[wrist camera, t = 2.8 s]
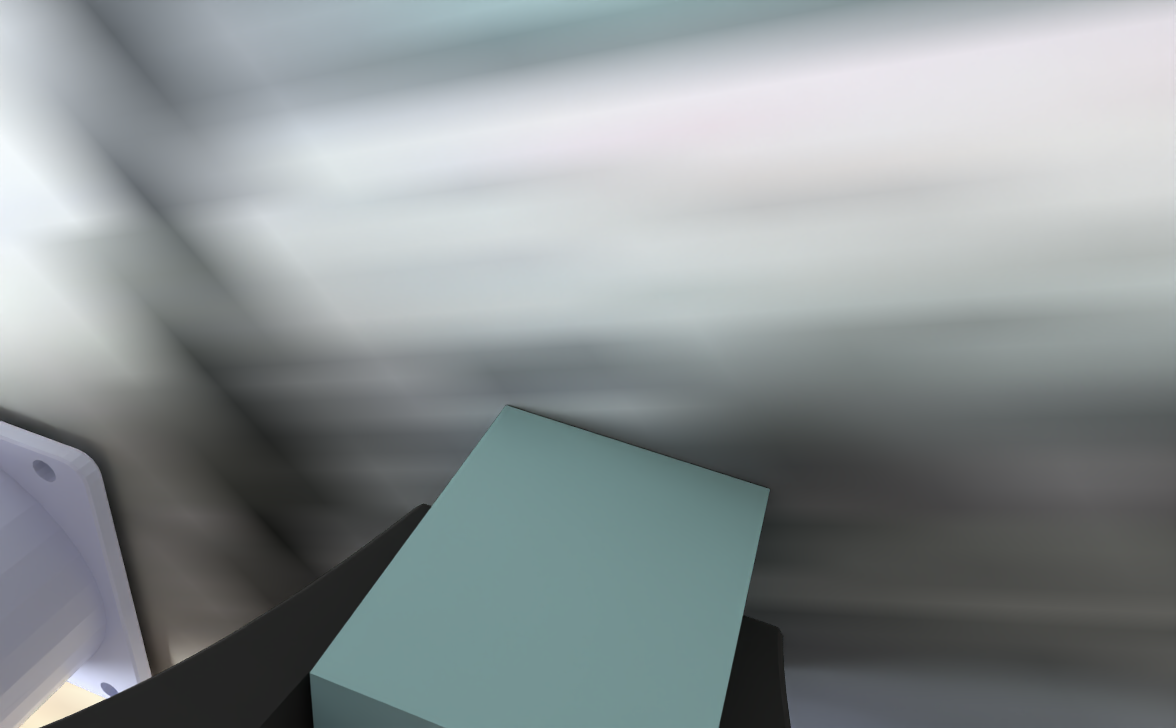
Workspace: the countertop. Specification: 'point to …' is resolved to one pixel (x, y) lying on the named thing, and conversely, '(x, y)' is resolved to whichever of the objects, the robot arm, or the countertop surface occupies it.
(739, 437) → the countertop surface
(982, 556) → the countertop surface
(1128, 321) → the countertop surface
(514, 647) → the teal block
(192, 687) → the robot arm
